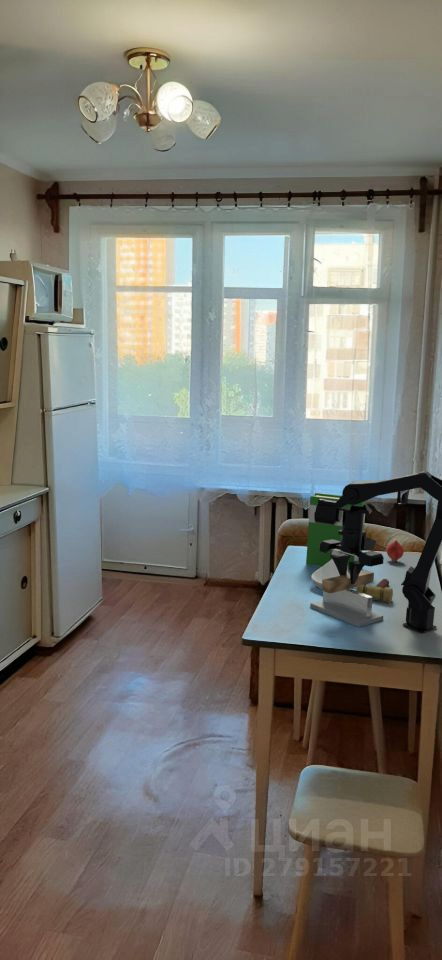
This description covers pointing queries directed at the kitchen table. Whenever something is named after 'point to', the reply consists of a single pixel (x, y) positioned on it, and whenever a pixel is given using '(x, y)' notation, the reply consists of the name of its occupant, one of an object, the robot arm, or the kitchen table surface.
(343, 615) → the board
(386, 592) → the gavel
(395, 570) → the kitchen table surface
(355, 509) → the robot arm
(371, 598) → the steel ridge
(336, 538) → the hardback book
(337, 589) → the walnut batten
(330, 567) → the spoon rest
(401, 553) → the onion
